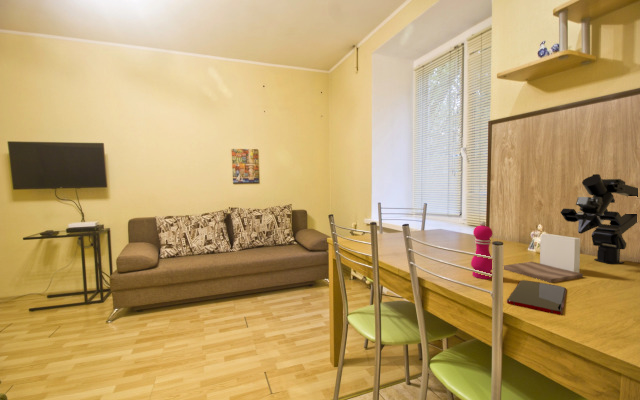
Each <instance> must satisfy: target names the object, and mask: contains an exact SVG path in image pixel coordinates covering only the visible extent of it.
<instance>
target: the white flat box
mask: <svg viewBox="0 0 640 400" xmlns="http://www.w3.org/2000/svg"><path fill="white" fill-rule="evenodd" d="M539 239H540V244H539V246H540V247H539V263H540V264H544V265H548V266H552V267H556V268H561V269H565V270H569V271H573V272H577V273H580V269H581V268H580V266H581V265H580V263H581V262H580V261H581V259H580V258H581V238H580V237H572V236H565V235H559V234H551V233H540V238H539Z"/></svg>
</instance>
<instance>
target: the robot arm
mask: <svg viewBox="0 0 640 400" xmlns="http://www.w3.org/2000/svg"><path fill="white" fill-rule="evenodd" d="M581 184H582V186H583V187H584V189H585V191H586V192H587V194H588V195H590V196H592V197H590V196H578V197H577V200H576V203H575V205H576V206H578V207H579V210H580V211H579V210H578V211H576V209H574V208H562V209H561V211H560V214H561V215H562V217H563V219H564V220H565V221H566V222H571V223H576V222H578V227H577V228H578V229H577V232H578V234H584V233H585V232H588V231H590V230H592V229H594V230H593V232H592V233H591V239H592V240H591V241H592V245H593V246H594V247H597V251H596V252H597V256H596V257H597V258H594V260H593V261H597V262H599V263H600V262H601V263H605V264H611V265H612V264H613V265H614V264H615V265H616V264H617V265H618V264H624V262H625V261H621V259H620V258H621V255H620V253H621V250H625V249H626V248H627V242H626V241H625V238H624V237H623V234H624V233H625V232H627V231H628V230H629V229H631V228H632V227H633V226H635V225H636V224H637V223H638V222H637V214H626V213H624V214H623V215H621V214H620V212H618V211H609V210H608V207H609V206H610V204H614V203H616V200H615V196H614V194H617V195H621V196H624V197H628V196H637V197H638V188H639V187H636V186H633V185H629V184H626V181H624V180H622V179H620V178H603V179H602V176H601V175H600V174H599V173H597V174H596V173H595V174H592V175H591V176H588V177H586V178H585V179H583V180H582V182H581ZM604 221H609V224H607V223H605V224H604V223H603V222H604Z"/></svg>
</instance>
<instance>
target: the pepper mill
mask: <svg viewBox="0 0 640 400" xmlns="http://www.w3.org/2000/svg"><path fill="white" fill-rule="evenodd" d="M479 224H480V225H477V226H475V227H474V228H473V232H472V233H473V236H474V237H475V238H474V240H475V241H474V243H475V246H476V247H475V252H474V254H475V253H476V254H481V255H486V256H490V257H492V255H491V253H490V245H491V241H492V239H491V238H492V237H493V230H492V228H491V227H490V226H487V225H486V224H487V223H486V222H485V221H484V220H482V221H480V223H479ZM492 260H493V258H492V259H488V258H483V257H477V256H474V255H473V256H472V258H471V261H470V266H471V267H472V268H473V270H474V269H475V270H479V271H483V272H486V273H490V274H492V275H493V272H492V270H493V269H492ZM472 276H473V277H474V278H476V279H480V280H491V279H492V278H493V276H492V277H489V276H485V275H481V274H478V273H475V272H473V271H472Z"/></svg>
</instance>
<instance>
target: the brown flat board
mask: <svg viewBox="0 0 640 400" xmlns="http://www.w3.org/2000/svg"><path fill="white" fill-rule="evenodd" d="M503 266H504V269H503V270H505V271H508V272H512V273H515V274H519V275H522V274H523V276H525V277H529V276H530V277H529V278H533V279H536V278H537V279H536V280H539V279H540V281H543V280H544V282H546V281H547V282H546V283H552V282H553V283H558V282H562V281H568V280H569V281H570V280H574V279H580V278H583V277H584V276H583V275H584V273H580V272H579V273H577V272H573V271H569V270H565V269H561V268H556V267H552V266H548V265H544V264H540V262H534V261H527V262H520V263H519V262H518V263H513V264H505V265H503ZM553 283H552V284H553Z"/></svg>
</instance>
